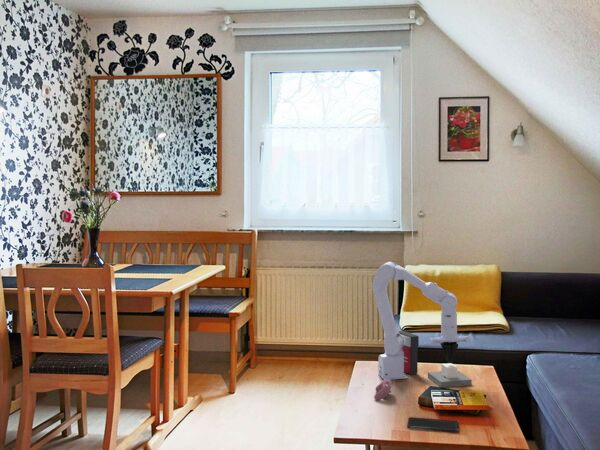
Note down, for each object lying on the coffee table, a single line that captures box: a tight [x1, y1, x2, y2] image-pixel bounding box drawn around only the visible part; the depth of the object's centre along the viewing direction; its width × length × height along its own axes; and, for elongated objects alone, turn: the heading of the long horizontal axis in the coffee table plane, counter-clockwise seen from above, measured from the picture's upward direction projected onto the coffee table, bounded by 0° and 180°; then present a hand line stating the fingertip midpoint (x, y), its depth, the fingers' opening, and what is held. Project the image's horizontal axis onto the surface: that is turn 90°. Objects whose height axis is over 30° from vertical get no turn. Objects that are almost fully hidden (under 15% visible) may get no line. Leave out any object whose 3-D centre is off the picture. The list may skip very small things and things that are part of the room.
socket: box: [427, 369, 472, 388], centre depth 217 cm, size 12×12×3 cm
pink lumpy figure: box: [373, 379, 393, 401], centre depth 202 cm, size 10×5×7 cm, turn 170°
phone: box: [406, 416, 460, 434], centre depth 175 cm, size 8×1×15 cm
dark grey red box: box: [399, 330, 420, 376], centre depth 231 cm, size 11×4×15 cm, turn 25°
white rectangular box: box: [441, 362, 458, 378], centre depth 217 cm, size 4×5×6 cm
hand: (449, 361), depth 217 cm, fingers closed
